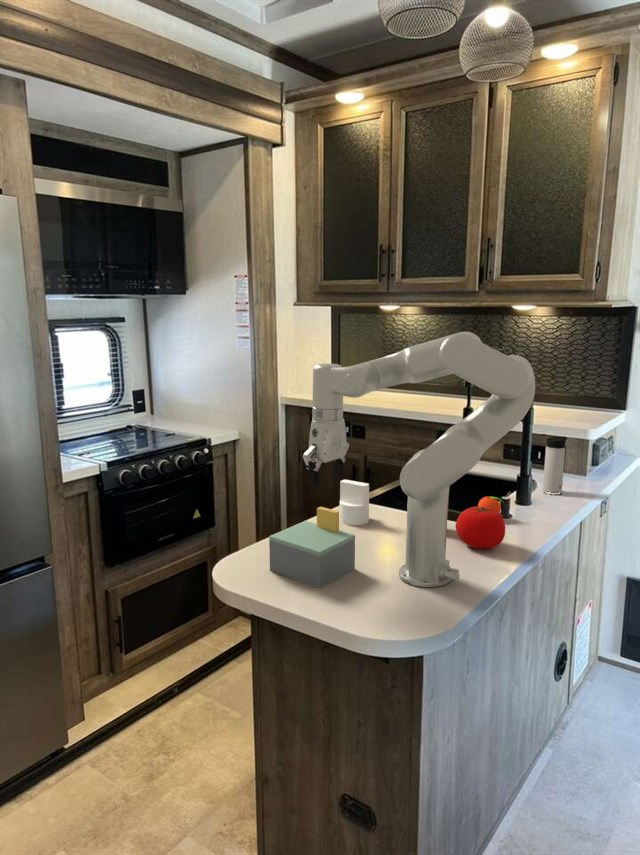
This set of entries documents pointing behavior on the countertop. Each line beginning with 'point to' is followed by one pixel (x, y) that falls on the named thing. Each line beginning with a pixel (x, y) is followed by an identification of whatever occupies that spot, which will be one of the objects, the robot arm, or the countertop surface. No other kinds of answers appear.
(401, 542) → the countertop surface
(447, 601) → the countertop surface
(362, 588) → the countertop surface
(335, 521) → the door
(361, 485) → the cylinder with rectangular tab
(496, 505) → the clementine
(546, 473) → the travel mug
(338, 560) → the tub
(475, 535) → the tomato
